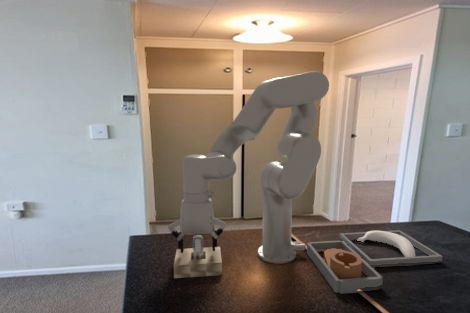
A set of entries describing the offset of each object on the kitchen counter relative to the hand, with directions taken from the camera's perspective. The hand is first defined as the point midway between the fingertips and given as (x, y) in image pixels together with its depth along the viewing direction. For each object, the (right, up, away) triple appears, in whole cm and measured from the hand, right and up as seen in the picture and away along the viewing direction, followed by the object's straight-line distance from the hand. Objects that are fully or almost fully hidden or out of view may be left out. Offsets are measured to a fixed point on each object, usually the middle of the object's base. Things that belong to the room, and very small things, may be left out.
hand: (198, 250), depth 88 cm
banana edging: (+63, -4, +11) cm, 64 cm away
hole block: (0, -6, +1) cm, 6 cm away
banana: (+63, -4, +11) cm, 64 cm away
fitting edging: (+43, -6, -1) cm, 44 cm away
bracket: (+43, -6, -1) cm, 44 cm away
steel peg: (0, -6, +1) cm, 6 cm away
